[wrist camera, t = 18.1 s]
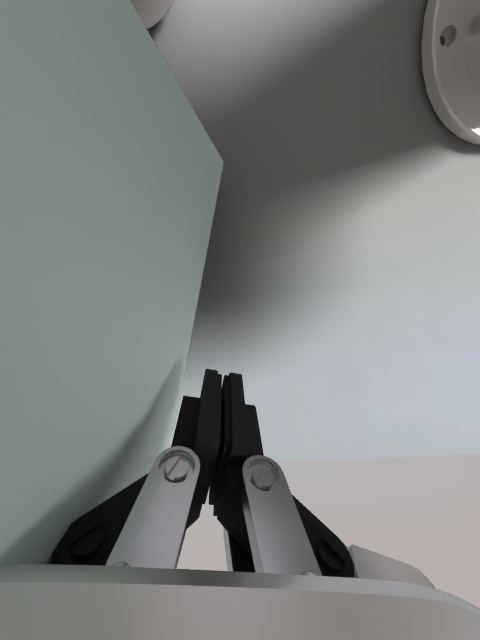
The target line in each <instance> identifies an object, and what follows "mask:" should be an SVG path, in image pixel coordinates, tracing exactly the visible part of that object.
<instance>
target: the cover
mask: <svg viewBox="0 0 480 640" xmlns="http://www.w3.org/2000/svg"><path fill="white" fill-rule="evenodd" d="M223 163H224V161H223V160H222V158H221V156H220V155H219V153H218V151H217V149H216V148H215V146H214V144H213V142H212V141H211V139H210V137H209V136H208V134H207V132H206V130H205V129H204V127H203V125H202V124H201V122H200V120H199V118H198V117H197V115H196V113H195V112H194V110H193V108H192V106H191V105H190V103H189V101H188V99H187V98H186V96H185V94H184V93H183V91H182V89H181V87H180V86H179V84H178V82H177V81H176V79H175V77H174V75H173V74H172V72H171V70H170V68H169V67H168V65H167V63H166V62H165V60H164V58H163V56H162V55H161V53H160V51H159V50H158V48H157V46H156V44H155V43H154V41H153V39H152V37H151V36H150V34H149V32H148V31H147V29H146V27H145V25H144V24H143V22H142V20H141V19H140V17H139V15H138V13H137V12H136V10H135V8H134V7H133V5H132V3H131V1H130V0H0V565H12V564H52V560H51V558H52V554H53V551H54V550H55V548H56V547H57V545H58V543H59V542H60V540H61V539H62V537H63V536H64V534H65V532H66V531H67V529H68V528H69V526H70V525H71V523H73V522H74V521H75V520H76V519H78V518H79V517H81V516H82V515H84V514H85V513H87V512H89V511H90V510H92V509H93V508H95V507H96V506H98V505H99V504H101V503H103V502H104V501H106V500H107V499H109V498H110V497H112V496H113V495H115V494H117V493H118V492H120V491H121V490H123V489H124V488H126V487H127V486H129V485H130V484H132V483H134V482H135V481H137V480H138V479H140V478H141V477H143V476H144V475H146V474H148V473H149V472H150V470H151V468H152V466H153V464H154V462H155V460H156V458H157V457H158V455H159V454H160V453H161V452H162V451H164V450H165V449H168V447H169V445H170V442H171V440H172V437H173V432H174V427H175V421H176V416H177V411H178V405H179V400H180V394H181V389H182V384H183V378H184V373H185V368H186V362H187V357H188V351H189V346H190V341H191V335H192V330H193V325H194V319H195V314H196V308H197V303H198V298H199V292H200V287H201V282H202V276H203V271H204V266H205V260H206V255H207V249H208V244H209V239H210V233H211V228H212V223H213V217H214V212H215V206H216V201H217V196H218V190H219V185H220V180H221V174H222V169H223Z"/></svg>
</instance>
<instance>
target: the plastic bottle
mask: <svg viewBox="0 0 480 640" xmlns="http://www.w3.org/2000/svg"><path fill="white" fill-rule="evenodd" d="M130 1H131V3H132V5H133V7H134V8H135V10H136V12H137V13H138V15H139V17H140V19H141V20H142V22H143V24H144V25H145V27H146V29H149V28H151V27H153V26H154V25H155V24H156V23H157V22H159V21H160V20H161V19H162V18H163V17H164V15H165V14H166V13H167V11H168V10H169V9H170V7H171V5H172V3H173V1H174V0H130Z"/></svg>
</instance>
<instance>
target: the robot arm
mask: <svg viewBox="0 0 480 640" xmlns="http://www.w3.org/2000/svg"><path fill="white" fill-rule="evenodd" d="M421 46H422V71H423V76H424V81H425V86H426V90H427V94H428V97H429V99H430V101H431V104H432V106H433V108H434V111H435V113H436V114H437V116H438V117H439V118H440V120H441V121H442V122H443V124H444V125H445V126H446V128H448V129H449V130H450V131H452V132H453V133H454V134H455V135H457V136H458V137H459V138H461V139H463V140H466V141H468V142H471V143H473V144H477V145H480V0H428V3H427V7H426V12H425V16H424V25H423V35H422V44H421ZM221 384H222V375H221V374H218V371H216V370H210V369H206V370H205V375H204V380H203V386H202V391H201V396H200V398H196V397H189V396H183V400H182V404H181V408H180V413H179V417H178V421H177V425H176V429H175V433H174V438H173V442H172V446H171V447H170V448H168V449H165V450H164V451H162V452H161V453H160V454H159V455H158V457H157V458H156V460H155V462H154V464H153V466H152V468H151V470H150V472H149V473H148V474H146V475H144V476H143V477H141V478H140V479H138V480H137V481H135V482H134V483H132V484H130V485H129V486H127V487H126V488H124V489H123V490H121V491H120V492H118V493H117V494H115V495H113V496H112V497H110V498H109V499H107V500H106V501H104V502H103V503H101V504H99V505H98V506H96V507H95V508H93V509H92V510H90V511H89V512H87V513H85V514H84V515H82V516H81V517H79V518H78V519H76V520H75V521H74V522H73V523H71V525H70V526H69V528H68V529H67V531H66V532H65V534H64V536H63V537H62V539H61V540H60V542H59V543H58V545H57V547H56V548H55V550H54V551H53V554H52V558H51V560H52V564H12V565H0V640H480V608H478V607H477V606H475V605H473V604H471V603H469V602H467V601H465V600H463V599H461V598H459V597H457V596H454V595H452V594H450V593H447V592H444V591H442V590H439V589H436V588H435V587H434V585H433V584H432V583H431V582H430V580H429V579H428V578H427V577H426V576H425V575H424V574H423V573H422V572H421V571H419V570H418V569H417V568H415V567H413V566H411V565H409V564H406V563H404V562H401V561H397V560H395V559H392V558H389V557H386V556H383V555H381V554H378V553H375V552H372V551H369V550H366V549H363V548H360V547H358V546H355V545H351V546H350V547H347V546H345V545H344V544H343V543H342V541H341V540H340V539H339V538H338V537H337V536H336V535H335V534H334V533H333V532H332V531H330V530H329V529H328V528H327V527H326V526H325V525H324V524H323V523H322V522H321V521H320V520H319V519H317V517H316V516H314V515H313V514H312V513H311V512H310V511H309V510H308V509H307V508H306V507H305V506H303V505H302V503H300V502H299V501H298V500H297V499H296V498H295V497H294V496H293V495H292V494H291V492H290V489H289V487H288V484H287V481H286V478H285V476H284V473H283V472H282V470H281V468H280V466H279V465H278V464H277V463H276V462H275V461H274V460H272V459H271V458H269V457H266V456H264V455H263V449H262V443H261V436H260V430H259V424H258V418H257V412H256V407H255V406H254V405H246V404H245V400H244V390H243V381H242V375H241V374H236V373H229V376H228V375H225V376H224V380H223V384H222V389H221ZM209 486H210V489H209ZM208 490H209V504H210V505H214V514H213V515H214V516H217V519H218V520H219V521H220V523H221V524H222V525H223V527H224V542H225V550H226V559H227V567H228V571H211V570H189V569H176V568H177V564H178V560H179V556H180V552H181V549H182V545H183V541H184V537H185V533H186V529H187V528H188V527H189V526H190V525H192V524H193V523H194V522H195V521H196V520H197V519H198V518H199V515H200V511H201V507H202V504H205V501H206V498H207V494H208Z"/></svg>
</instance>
